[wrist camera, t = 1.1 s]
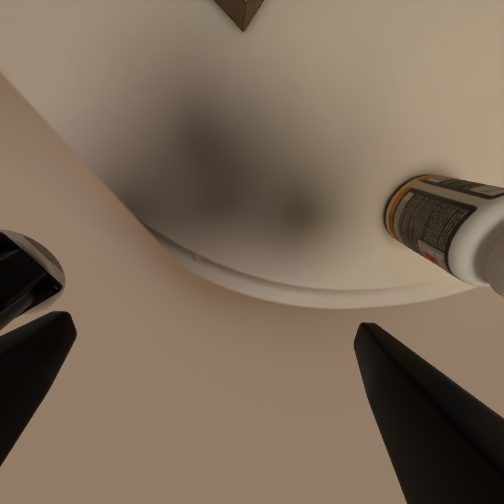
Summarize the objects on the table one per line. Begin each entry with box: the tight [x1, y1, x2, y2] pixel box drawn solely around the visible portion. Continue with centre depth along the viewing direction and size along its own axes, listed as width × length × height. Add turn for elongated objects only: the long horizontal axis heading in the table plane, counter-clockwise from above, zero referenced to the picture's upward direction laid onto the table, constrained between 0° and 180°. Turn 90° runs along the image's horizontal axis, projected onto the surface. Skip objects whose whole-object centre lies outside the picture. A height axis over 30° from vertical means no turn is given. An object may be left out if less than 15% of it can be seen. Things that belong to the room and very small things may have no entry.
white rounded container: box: [386, 175, 504, 297], centre depth 16 cm, size 6×6×10 cm
